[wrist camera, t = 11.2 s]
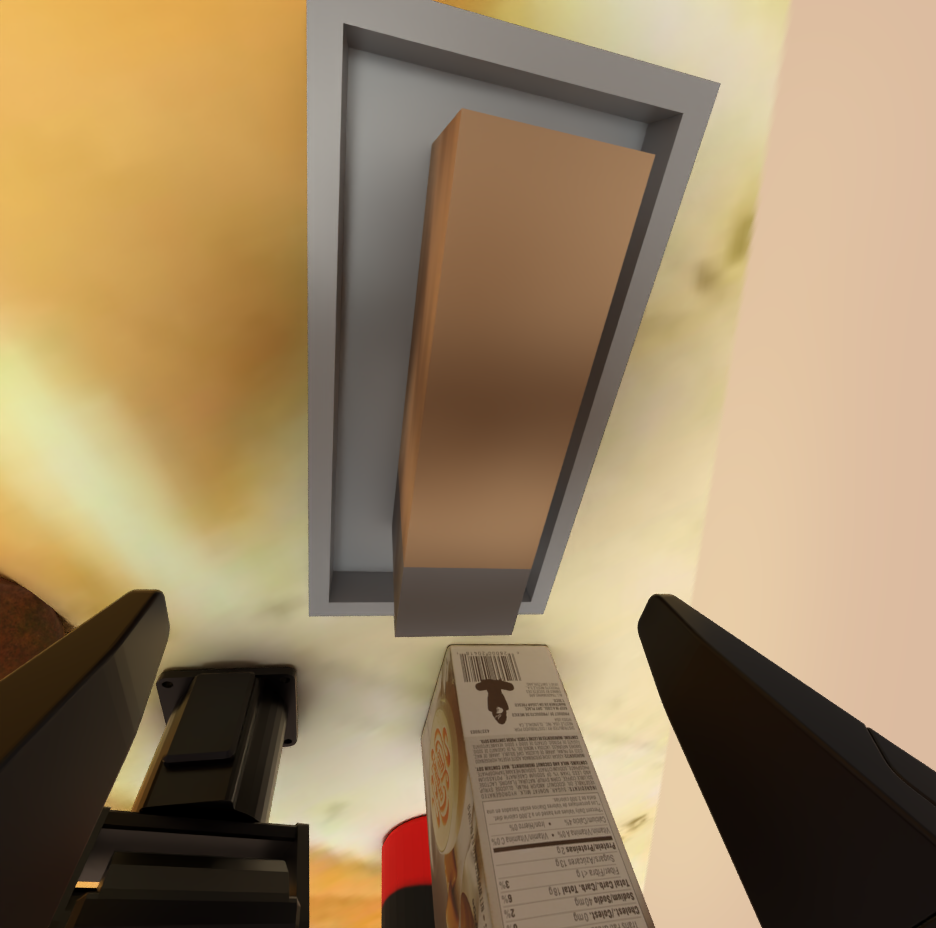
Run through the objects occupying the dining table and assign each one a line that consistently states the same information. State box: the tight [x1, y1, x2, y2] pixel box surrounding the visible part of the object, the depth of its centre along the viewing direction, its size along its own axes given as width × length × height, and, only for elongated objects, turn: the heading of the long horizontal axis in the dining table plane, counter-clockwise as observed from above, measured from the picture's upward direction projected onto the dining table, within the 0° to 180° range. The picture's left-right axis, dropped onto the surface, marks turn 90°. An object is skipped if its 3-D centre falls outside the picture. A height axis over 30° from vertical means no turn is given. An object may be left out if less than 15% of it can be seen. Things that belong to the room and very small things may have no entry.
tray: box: [307, 0, 720, 616], centre depth 17 cm, size 20×11×2 cm, turn 170°
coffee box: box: [421, 645, 655, 928], centre depth 21 cm, size 9×6×16 cm
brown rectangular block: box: [392, 108, 655, 637], centre depth 15 cm, size 14×4×6 cm, turn 170°
